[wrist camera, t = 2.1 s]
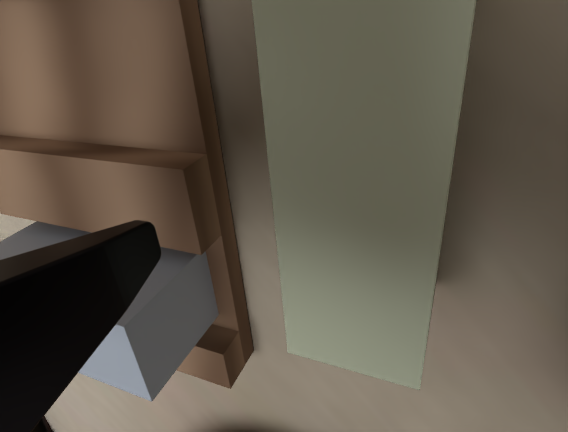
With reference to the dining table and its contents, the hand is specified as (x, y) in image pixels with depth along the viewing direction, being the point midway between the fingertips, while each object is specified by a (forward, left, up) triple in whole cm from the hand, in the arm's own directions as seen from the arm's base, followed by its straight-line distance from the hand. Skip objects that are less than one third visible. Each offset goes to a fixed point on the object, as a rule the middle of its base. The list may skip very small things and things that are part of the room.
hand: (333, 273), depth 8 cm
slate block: (+13, +6, -6) cm, 15 cm away
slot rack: (+13, +2, -7) cm, 14 cm away
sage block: (0, 0, -7) cm, 7 cm away
